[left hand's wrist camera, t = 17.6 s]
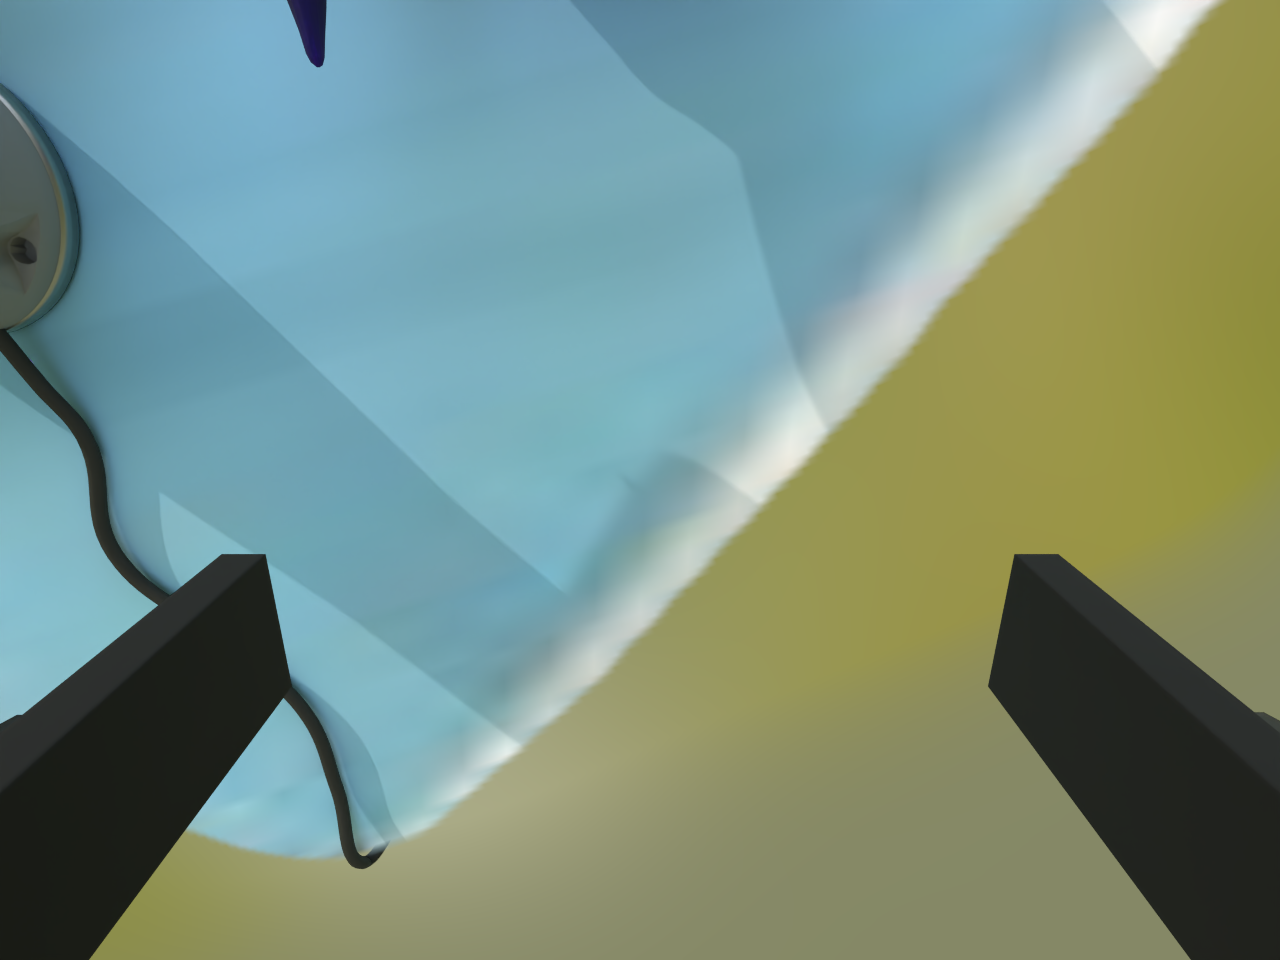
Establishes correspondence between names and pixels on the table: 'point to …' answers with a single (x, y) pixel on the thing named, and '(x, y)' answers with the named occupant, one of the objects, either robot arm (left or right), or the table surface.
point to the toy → (311, 27)
